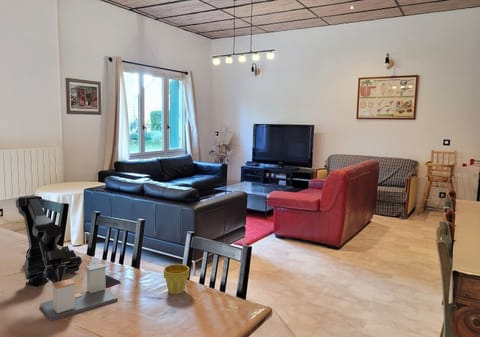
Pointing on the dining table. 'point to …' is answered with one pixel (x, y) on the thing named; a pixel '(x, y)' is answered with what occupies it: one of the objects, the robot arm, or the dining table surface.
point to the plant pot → (176, 278)
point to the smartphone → (110, 281)
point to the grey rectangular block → (96, 278)
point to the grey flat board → (81, 303)
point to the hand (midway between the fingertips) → (59, 287)
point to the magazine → (65, 259)
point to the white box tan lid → (63, 295)
